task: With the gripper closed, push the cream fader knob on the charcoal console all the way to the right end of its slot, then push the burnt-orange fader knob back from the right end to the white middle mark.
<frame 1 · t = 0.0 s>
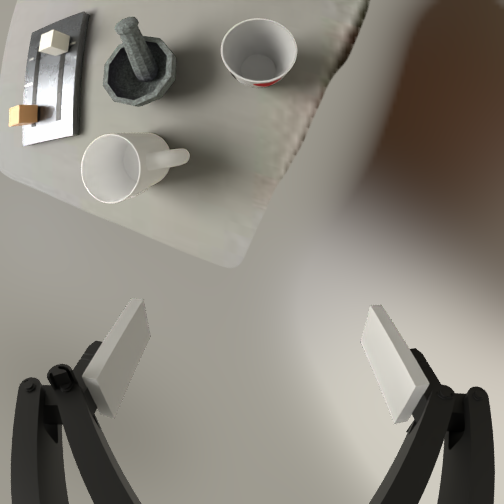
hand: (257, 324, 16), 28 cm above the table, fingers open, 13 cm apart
fader 1: (54, 43, 27), point 5 cm above the table, slide at 0.0 cm
mortar and pestle: (154, 74, 35), on the table
mug: (159, 158, 40), on the table
console: (54, 78, 33), on the table
fader 2: (23, 115, 31), point 5 cm above the table, slide at 11.0 cm
cup: (258, 69, 35), on the table
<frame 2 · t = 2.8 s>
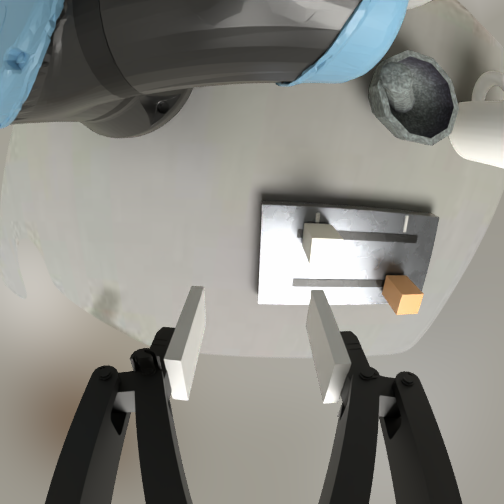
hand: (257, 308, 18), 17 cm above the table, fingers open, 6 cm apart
fader 1: (321, 242, 29), point 5 cm above the table, slide at 0.0 cm
mortar and pestle: (386, 100, 28), on the table
mug: (467, 116, 27), on the table
console: (349, 253, 35), on the table
fader 2: (401, 294, 31), point 5 cm above the table, slide at 11.0 cm
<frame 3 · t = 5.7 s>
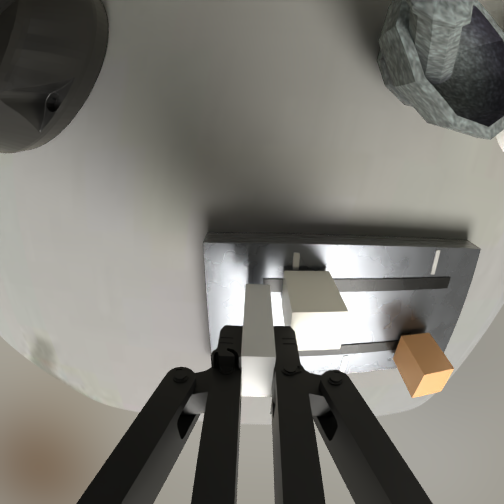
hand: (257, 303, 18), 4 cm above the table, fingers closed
fader 1: (310, 307, 17), point 5 cm above the table, slide at 0.7 cm, touching gripper
mortar and pestle: (405, 68, 16), on the table
console: (348, 305, 23), on the table
fader 2: (421, 363, 19), point 5 cm above the table, slide at 11.0 cm
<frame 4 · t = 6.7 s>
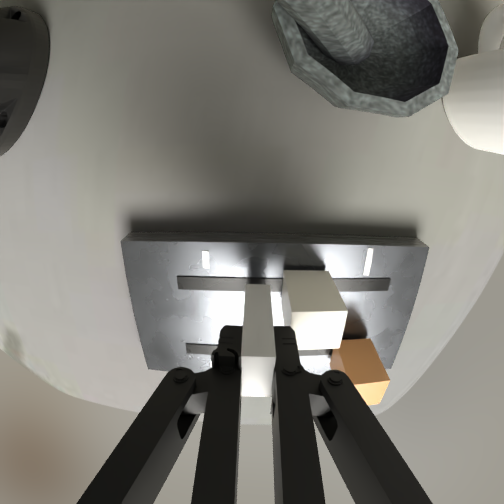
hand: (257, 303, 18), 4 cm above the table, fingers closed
fader 1: (310, 307, 17), point 5 cm above the table, slide at 6.6 cm, touching gripper
mortar and pestle: (329, 53, 16), on the table
mug: (473, 81, 15), on the table
console: (276, 305, 23), on the table
fader 2: (357, 372, 20), point 5 cm above the table, slide at 11.0 cm
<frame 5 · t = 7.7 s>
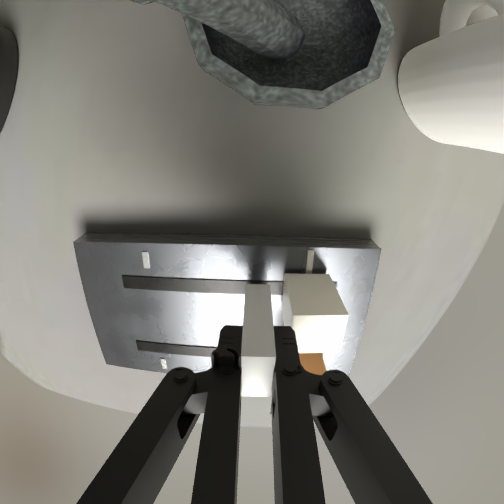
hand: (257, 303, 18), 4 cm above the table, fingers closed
fader 1: (310, 310, 17), point 5 cm above the table, slide at 10.8 cm, touching gripper
mortar and pestle: (269, 50, 16), on the table
mug: (437, 70, 15), on the table
console: (222, 307, 23), on the table
fader 2: (301, 378, 20), point 5 cm above the table, slide at 11.0 cm
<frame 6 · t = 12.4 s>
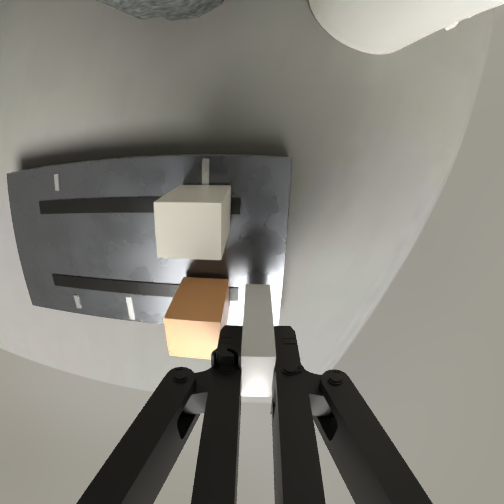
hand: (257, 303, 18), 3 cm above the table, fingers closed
fader 1: (197, 217, 15), point 5 cm above the table, slide at 11.0 cm
console: (131, 238, 20), on the table
fader 2: (200, 315, 17), point 5 cm above the table, slide at 11.0 cm, touching gripper
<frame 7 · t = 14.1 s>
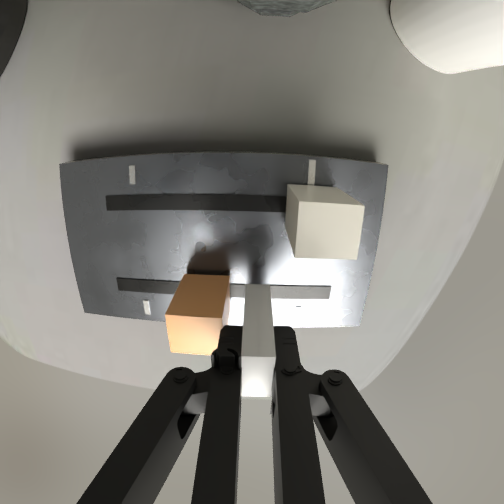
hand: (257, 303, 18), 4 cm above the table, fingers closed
fader 1: (319, 217, 15), point 5 cm above the table, slide at 11.0 cm
mug: (428, 10, 13), on the table
console: (215, 237, 21), on the table
fader 2: (201, 311, 17), point 5 cm above the table, slide at 4.7 cm, touching gripper
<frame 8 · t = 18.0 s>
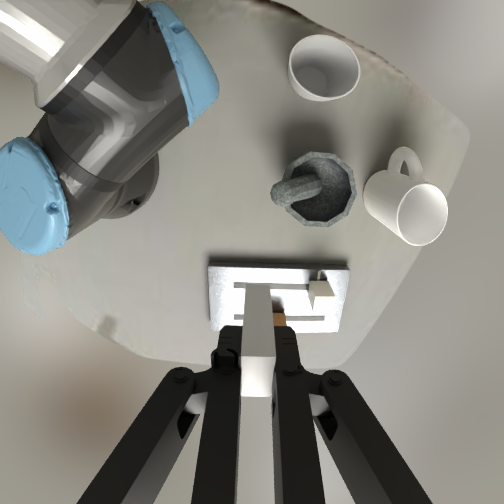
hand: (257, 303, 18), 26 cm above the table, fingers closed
fader 1: (320, 296, 43), point 5 cm above the table, slide at 11.0 cm
mortar and pestle: (305, 181, 42), on the table
mug: (386, 182, 41), on the table
console: (277, 296, 48), on the table
fader 2: (276, 328, 45), point 5 cm above the table, slide at 4.7 cm
cup: (309, 81, 36), on the table
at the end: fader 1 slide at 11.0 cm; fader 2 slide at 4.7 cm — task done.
